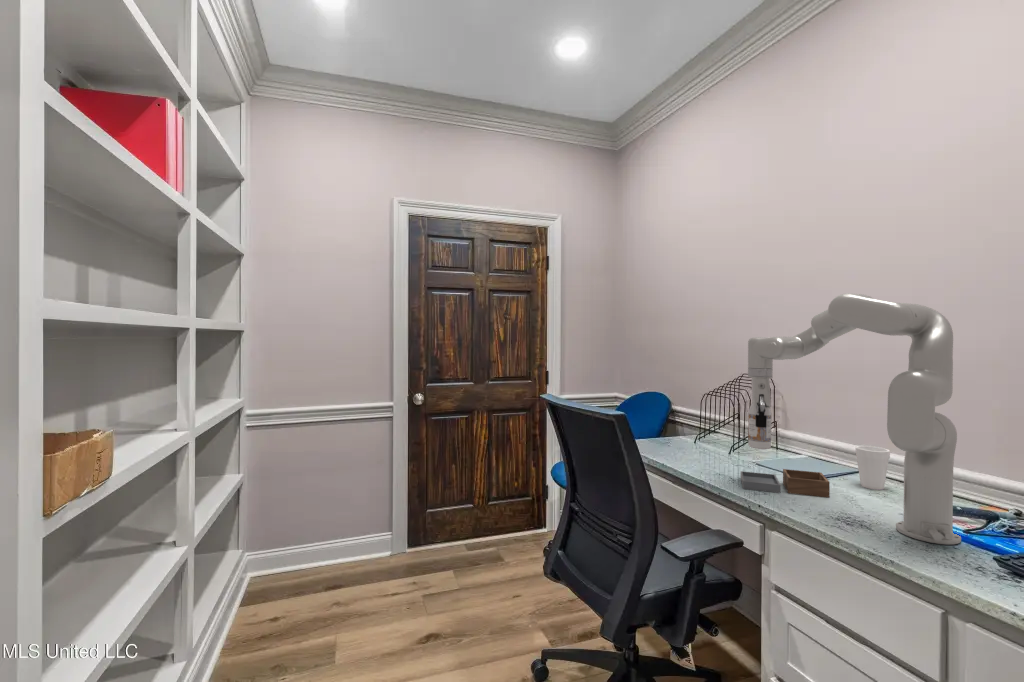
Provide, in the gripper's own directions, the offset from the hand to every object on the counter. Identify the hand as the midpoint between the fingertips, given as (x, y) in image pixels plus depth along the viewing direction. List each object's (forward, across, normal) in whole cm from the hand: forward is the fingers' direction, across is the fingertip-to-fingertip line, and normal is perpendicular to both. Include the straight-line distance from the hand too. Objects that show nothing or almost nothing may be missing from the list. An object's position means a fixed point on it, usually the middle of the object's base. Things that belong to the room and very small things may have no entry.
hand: (759, 424), depth 163 cm
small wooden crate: (+21, 0, -14) cm, 25 cm away
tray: (+21, 0, 0) cm, 21 cm away
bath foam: (+8, 0, 0) cm, 8 cm away
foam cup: (+21, +13, -36) cm, 43 cm away
